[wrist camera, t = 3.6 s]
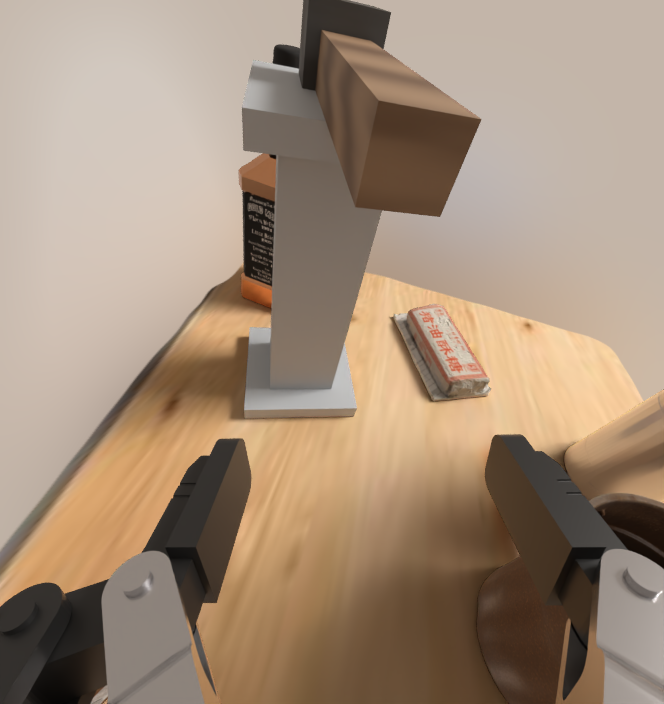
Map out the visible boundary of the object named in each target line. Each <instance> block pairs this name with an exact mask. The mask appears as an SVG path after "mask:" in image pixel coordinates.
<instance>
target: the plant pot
mask: <svg viewBox="0 0 664 704" xmlns="http://www.w3.org/2000/svg"><path fill="white" fill-rule="evenodd" d="M589 502H590V503H591V505H592V506H593V507H594V508H595V510H596V511H597V512H598V513H599V515H600V516H601V517H602V518H603V520H604V521H605V522H606V523H607V525H608V526H609V527H610V528H611V530H612V531H613V532H614V533H615V535H616V536H617V537H618V538H619V540H620V541H621V542H622V543H623V545H624V546H625V547H626V548H627V549H628V550H629V551H632V552H635V553H637V554H640V555H642V556H644V557H646V558H648V559H650V560H651V561H653V562H655V563H656V564H657V565H659V566H660V567H662V568H663V569H664V503H662V502H659V501H657V500H654V499H650V498H647V497H643V496H639V495H635V494H628V493H609V494H604V495H601V496H598V497H595V498H593V499H591V500H589ZM568 618H569V617H568V615H567V613H566V611H565V609H564V607H563V605H545V604H544V602H543V600H542V598H541V596H540V594H539V592H538V590H537V588H536V586H535V584H534V582H533V580H532V578H531V576H530V574H529V572H528V570H527V568H526V566H525V564H524V562H523V560H522V558H521V556H520V557H518V558H517V559H515V560H513V561H511V562H510V563H508V564H506V565H504V566H502V567H500V568H498V569H497V570H495V571H494V572H493V573H492V574H491V575H490V576H489V577H488V578H487V579H486V580H485V582H484V583H483V585H482V587H481V589H480V592H479V595H478V617H477V624H476V625H477V634H478V639H479V643H480V647H481V650H482V653H483V656H484V659H485V662H486V664H487V667H488V669H489V671H490V673H491V675H492V677H493V679H494V681H495V683H496V685H497V687H498V688H499V690H500V692H501V693H502V695H503V696H504V698H505V699H506V700H507V702H508V703H509V704H555V703H556V697H557V690H558V682H559V674H560V667H561V659H562V651H563V644H564V636H565V629H566V623H567V620H568Z"/></svg>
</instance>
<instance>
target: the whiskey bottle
mask: <svg viewBox="0 0 664 704" xmlns="http://www.w3.org/2000/svg"><path fill="white" fill-rule="evenodd" d="M299 59H300V48H297V47H294V46H289V45H276V46H275V47H274V57H273V64H277V65H282V66H287V67H292V68H297V69H299ZM275 184H276V155H272V154H265V153H263V154H261V155H260V156H258V157H257V158H255V159H254V160H252V161H251V162H249V163H248V164H246V165H244V166H243V167H241V168H240V169H239V185H240V187H241V189H242V190H243V248H244V272H243V273H242V274H241V294H242V297H244V298H247V299H249V300H252V301H254V302H257V303H259V304H261V305H264V306H266V307H269V308H271V307H272V276H273V245H274V215H275Z"/></svg>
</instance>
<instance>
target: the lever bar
mask: <svg viewBox="0 0 664 704" xmlns="http://www.w3.org/2000/svg"><path fill="white" fill-rule="evenodd" d="M303 1H304V2H303V14H302V29H301V44H300V59H299V77H300V82H301V86H302V88H303V89H308V90H314V91H315V92H316V94H317V97H318V100H319V103H320V106H321V109H322V112H323V115H324V118H325V121H326V124H327V127H328V129H329V132H330V135H331V138H332V141H333V144H334V147H335V150H336V153H337V156H338V159H339V161H340V164H341V167H342V170H343V173H344V176H345V179H346V182H347V185H348V188H349V191H350V193H351V196H352V199H353V202H354V205H355V207H357V208H366V209H375V210H384V211H393V212H403V213H411V214H419V215H428V216H437V217H440V215H441V213H442V211H443V209H444V206H445V204H446V201H447V199H448V197H449V194H450V192H451V190H452V187H453V185H454V183H455V180H456V178H457V176H458V173H459V171H460V169H461V166H462V164H463V162H464V159H465V157H466V154H467V152H468V150H469V147H470V144H471V143H472V140H473V138H474V136H475V133H476V131H477V128H478V126H479V124H480V122H481V119H480V118H479V117H477V116H476V115H475V114H473V113H472V112H470V111H469V110H468V109H466V108H464V107H463V106H462V105H460V104H459V103H458V102H456V101H455V100H454V99H452V98H451V97H449V96H448V95H446V94H445V93H443V92H442V91H441V90H440V89H438V88H437V87H435V86H434V85H433V84H431V83H430V82H428V81H427V80H425V79H424V78H423V77H421V76H420V75H419V74H417V73H416V72H414V71H413V70H411V69H410V68H409V67H407V66H405V65H404V64H403V63H402V62H400V61H399V60H397V59H396V58H395V57H393V56H392V55H390V54H389V53H388V52H386V51H385V50H383V48H384V44H385V39H386V34H387V29H388V24H389V19H390V15H391V12H388V11H385V10H383V9H380V8H377V7H374V6H370V5H365V4H361V3H357V2H353V1H349V0H303Z"/></svg>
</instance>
